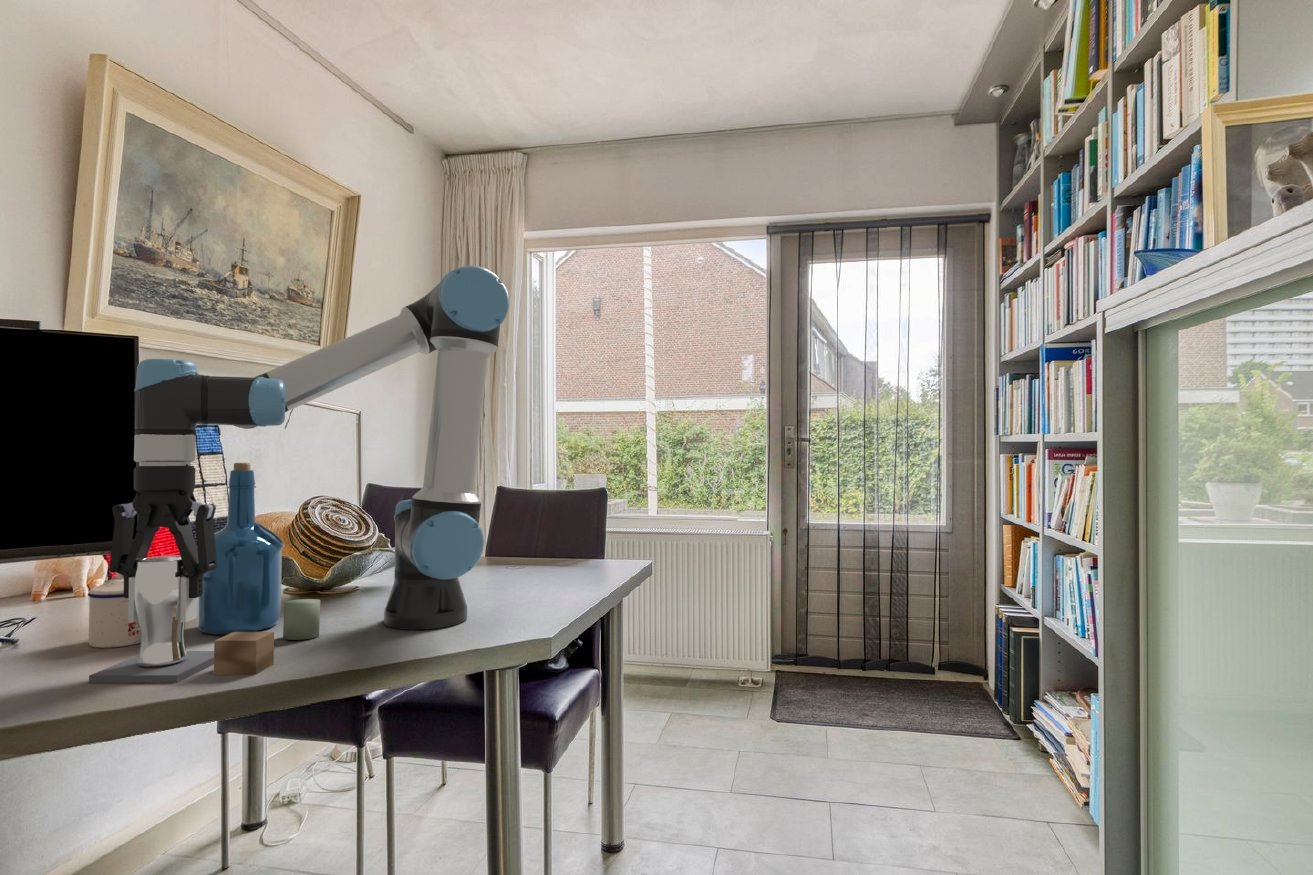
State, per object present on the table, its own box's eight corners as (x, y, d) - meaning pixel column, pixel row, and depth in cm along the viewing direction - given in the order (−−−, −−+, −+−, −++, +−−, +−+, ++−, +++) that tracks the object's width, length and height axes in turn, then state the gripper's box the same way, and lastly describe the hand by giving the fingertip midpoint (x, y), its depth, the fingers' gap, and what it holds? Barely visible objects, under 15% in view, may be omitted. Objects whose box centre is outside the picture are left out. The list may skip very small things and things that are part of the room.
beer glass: (127, 670, 101) (128, 563, 101) (140, 657, 107) (141, 556, 108) (185, 664, 104) (186, 560, 104) (194, 651, 110) (195, 554, 110)
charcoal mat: (226, 657, 112) (226, 650, 112) (177, 682, 100) (177, 675, 100) (147, 657, 111) (147, 651, 111) (88, 682, 99) (88, 675, 99)
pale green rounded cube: (326, 634, 125) (327, 600, 126) (300, 640, 120) (301, 604, 121) (301, 632, 127) (303, 598, 128) (275, 638, 122) (277, 602, 123)
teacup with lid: (138, 647, 117) (140, 575, 117) (74, 650, 115) (76, 577, 115) (171, 629, 129) (172, 564, 129) (113, 631, 127) (114, 565, 127)
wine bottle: (189, 640, 122) (192, 463, 122) (203, 622, 134) (205, 462, 134) (280, 632, 127) (283, 463, 128) (285, 616, 139) (287, 462, 140)
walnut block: (273, 664, 108) (274, 631, 108) (255, 675, 103) (256, 640, 103) (233, 665, 108) (233, 631, 108) (213, 675, 103) (214, 640, 103)
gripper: (246, 463, 110) (244, 614, 110) (115, 463, 109) (113, 614, 109) (218, 465, 103) (216, 626, 102) (77, 464, 102) (74, 626, 102)
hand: (163, 619), depth 106 cm, fingers closed on beer glass, 7 cm apart
